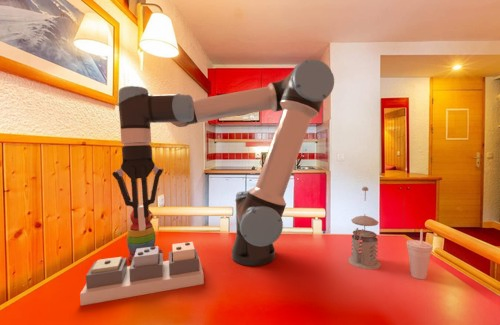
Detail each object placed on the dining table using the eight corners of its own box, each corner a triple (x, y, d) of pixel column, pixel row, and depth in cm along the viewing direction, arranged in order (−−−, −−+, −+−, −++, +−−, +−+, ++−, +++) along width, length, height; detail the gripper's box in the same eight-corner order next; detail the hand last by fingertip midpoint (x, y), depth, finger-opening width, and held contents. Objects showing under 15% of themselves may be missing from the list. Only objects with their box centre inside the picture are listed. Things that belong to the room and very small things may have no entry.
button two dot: (192, 254, 79) (192, 240, 79) (194, 262, 74) (194, 247, 73) (172, 257, 78) (172, 243, 77) (173, 265, 72) (172, 250, 72)
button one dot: (122, 270, 73) (121, 255, 73) (118, 280, 68) (117, 264, 67) (98, 273, 72) (97, 258, 71) (92, 284, 66) (91, 268, 66)
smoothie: (423, 284, 70) (425, 234, 69) (400, 274, 76) (401, 227, 75) (436, 278, 73) (438, 230, 72) (413, 268, 79) (414, 224, 78)
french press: (384, 261, 84) (386, 186, 82) (373, 274, 75) (374, 191, 74) (354, 253, 91) (355, 183, 89) (341, 264, 82) (341, 187, 81)
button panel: (198, 265, 83) (198, 245, 83) (203, 283, 72) (203, 261, 71) (94, 281, 74) (93, 259, 74) (80, 305, 63) (79, 279, 62)
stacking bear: (146, 264, 84) (144, 211, 83) (120, 262, 86) (117, 210, 85) (164, 251, 95) (162, 204, 94) (139, 249, 97) (137, 203, 96)
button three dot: (158, 259, 76) (158, 244, 76) (158, 267, 71) (157, 252, 70) (137, 262, 74) (136, 247, 74) (134, 271, 69) (133, 255, 69)
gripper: (162, 144, 76) (166, 222, 77) (113, 145, 71) (119, 228, 73) (161, 143, 68) (166, 230, 70) (107, 145, 64) (113, 236, 66)
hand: (142, 229), depth 71 cm, fingers closed
